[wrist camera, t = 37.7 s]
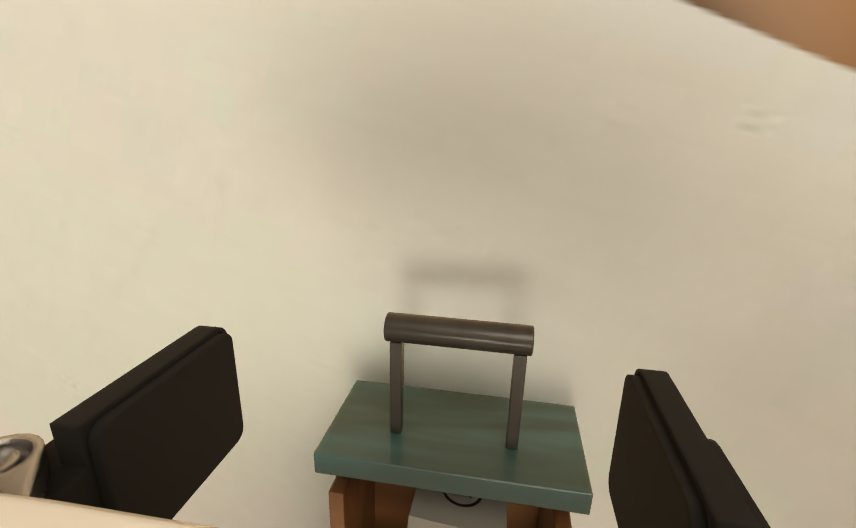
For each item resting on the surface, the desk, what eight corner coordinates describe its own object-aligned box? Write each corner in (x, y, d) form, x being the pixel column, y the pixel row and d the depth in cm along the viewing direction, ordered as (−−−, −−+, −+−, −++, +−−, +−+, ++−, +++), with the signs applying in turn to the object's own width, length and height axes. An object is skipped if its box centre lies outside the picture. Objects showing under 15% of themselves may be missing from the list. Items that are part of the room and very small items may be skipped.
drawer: (353, 279, 27) (305, 329, 20) (589, 299, 25) (615, 361, 18) (361, 552, 33) (326, 654, 27) (548, 586, 31) (557, 705, 25)
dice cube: (426, 449, 28) (408, 515, 23) (507, 466, 28) (506, 539, 23) (417, 511, 30) (399, 585, 25) (493, 529, 29) (490, 608, 24)
